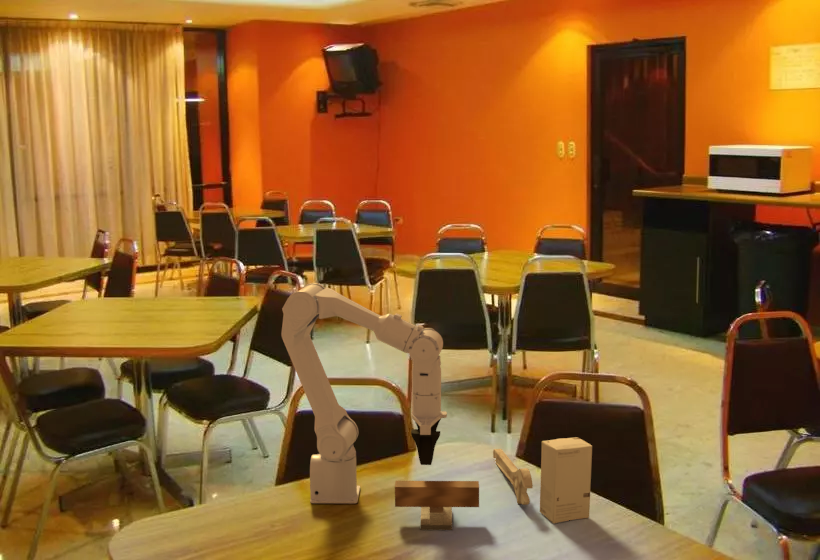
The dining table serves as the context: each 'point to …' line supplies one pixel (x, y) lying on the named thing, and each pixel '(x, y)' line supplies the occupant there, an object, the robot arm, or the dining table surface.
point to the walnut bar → (437, 494)
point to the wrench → (514, 476)
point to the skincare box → (565, 479)
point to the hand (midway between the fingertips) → (426, 456)
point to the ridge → (436, 518)
